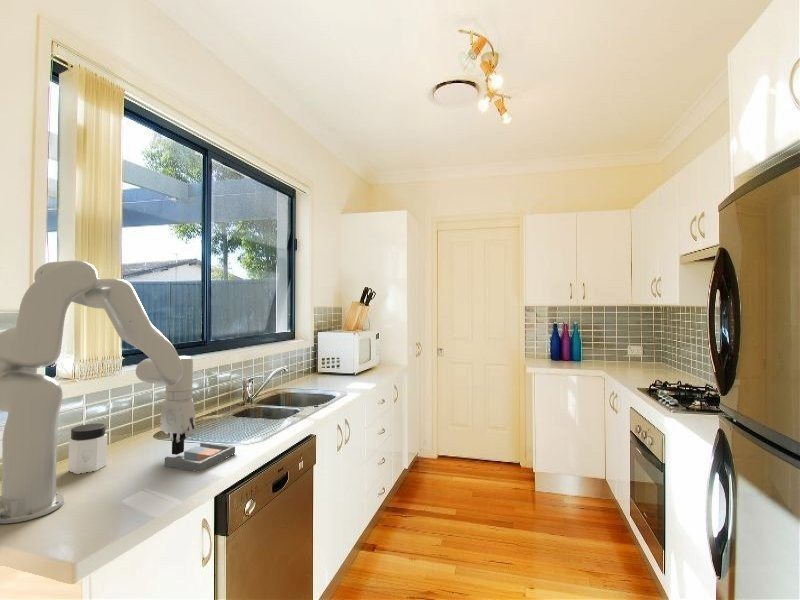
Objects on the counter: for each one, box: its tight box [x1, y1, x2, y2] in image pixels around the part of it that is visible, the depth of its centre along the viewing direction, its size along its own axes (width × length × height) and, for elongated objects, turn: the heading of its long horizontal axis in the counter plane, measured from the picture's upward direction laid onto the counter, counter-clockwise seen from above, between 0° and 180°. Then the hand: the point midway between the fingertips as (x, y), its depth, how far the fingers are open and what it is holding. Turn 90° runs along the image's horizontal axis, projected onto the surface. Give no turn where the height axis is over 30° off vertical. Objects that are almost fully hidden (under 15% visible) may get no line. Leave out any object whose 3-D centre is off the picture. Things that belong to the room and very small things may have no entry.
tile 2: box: [197, 448, 222, 462], centre depth 128 cm, size 5×5×3 cm
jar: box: [67, 422, 108, 475], centre depth 121 cm, size 9×8×12 cm
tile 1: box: [183, 445, 208, 461], centre depth 129 cm, size 5×5×3 cm
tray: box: [163, 441, 236, 472], centre depth 128 cm, size 15×13×2 cm
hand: (177, 453), depth 131 cm, fingers closed
